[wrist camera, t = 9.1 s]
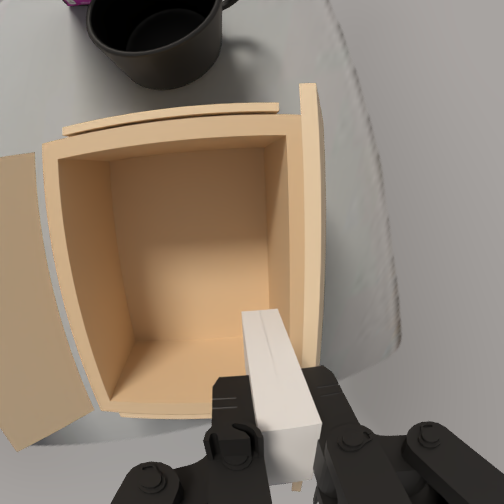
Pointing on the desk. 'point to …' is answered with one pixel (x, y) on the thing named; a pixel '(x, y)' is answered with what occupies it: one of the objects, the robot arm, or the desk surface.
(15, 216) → the flap
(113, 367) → the carton
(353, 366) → the desk surface
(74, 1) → the candy bar box
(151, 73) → the mug
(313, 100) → the flap
